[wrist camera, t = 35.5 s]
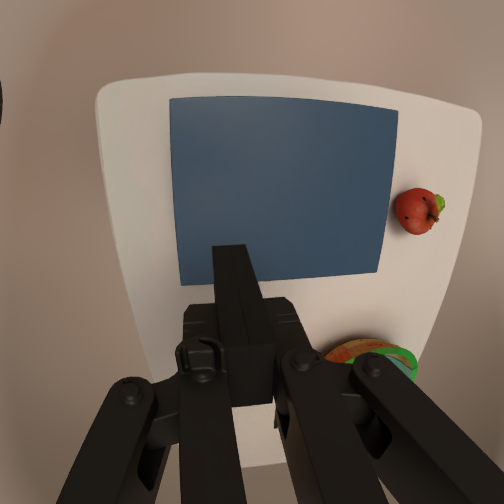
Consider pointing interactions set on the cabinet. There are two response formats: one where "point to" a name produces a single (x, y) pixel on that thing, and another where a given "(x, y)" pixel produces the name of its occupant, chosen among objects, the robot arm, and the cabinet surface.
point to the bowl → (391, 351)
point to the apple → (418, 210)
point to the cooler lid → (281, 184)
